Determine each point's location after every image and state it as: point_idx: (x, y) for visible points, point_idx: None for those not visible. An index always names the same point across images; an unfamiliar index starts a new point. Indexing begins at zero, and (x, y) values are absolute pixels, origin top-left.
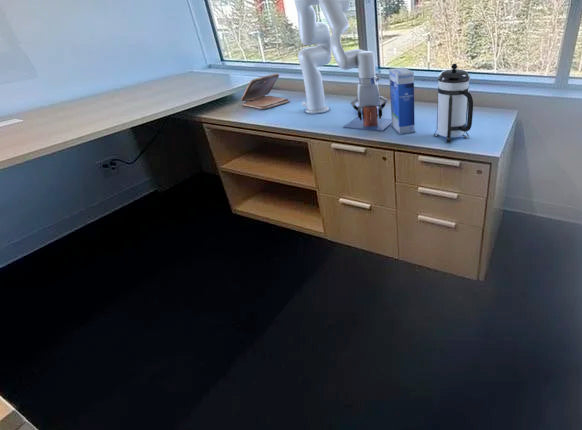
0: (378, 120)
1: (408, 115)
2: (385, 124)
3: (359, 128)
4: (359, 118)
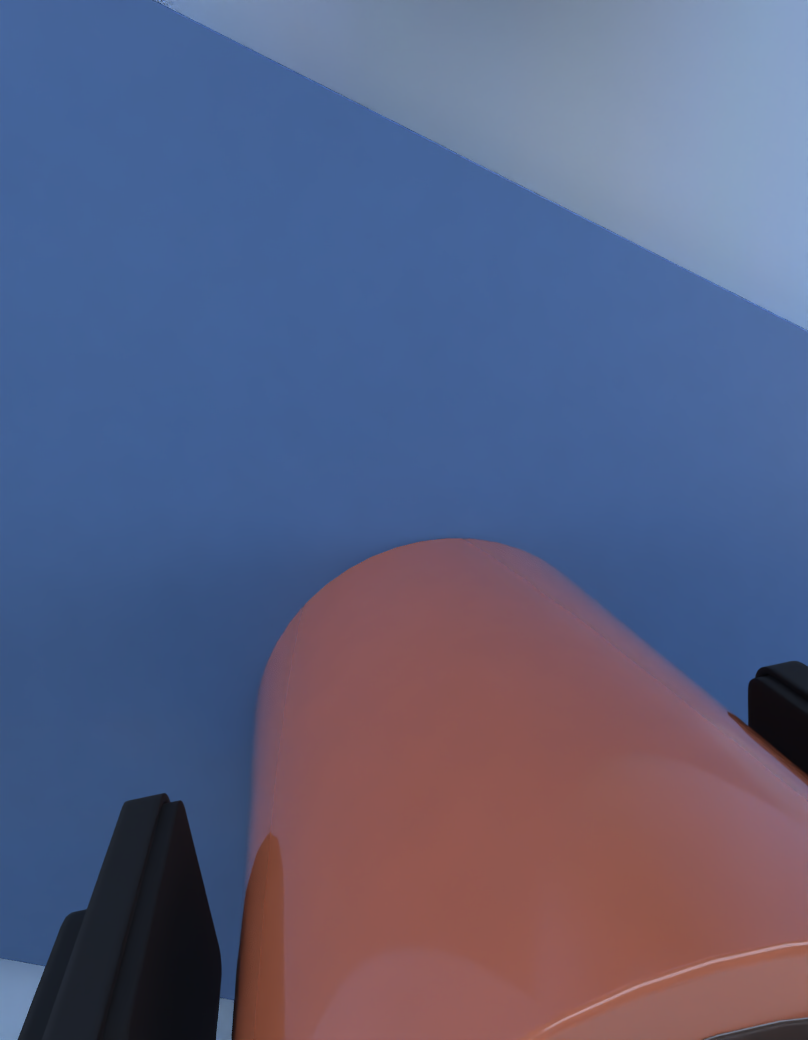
0: (653, 449)
1: None
2: None
3: None
4: (56, 136)
